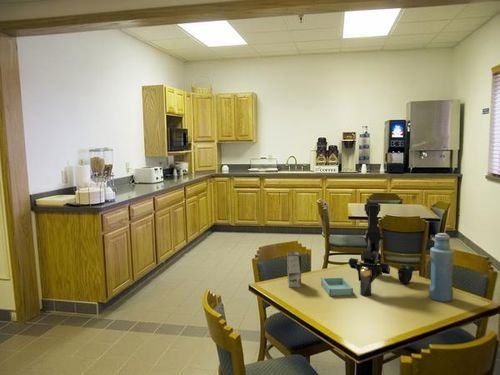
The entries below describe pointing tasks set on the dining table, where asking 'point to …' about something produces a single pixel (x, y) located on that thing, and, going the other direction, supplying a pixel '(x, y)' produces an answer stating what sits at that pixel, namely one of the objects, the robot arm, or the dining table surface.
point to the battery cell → (365, 281)
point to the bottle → (441, 269)
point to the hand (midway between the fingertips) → (364, 281)
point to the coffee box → (294, 269)
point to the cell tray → (337, 286)
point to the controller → (405, 273)
